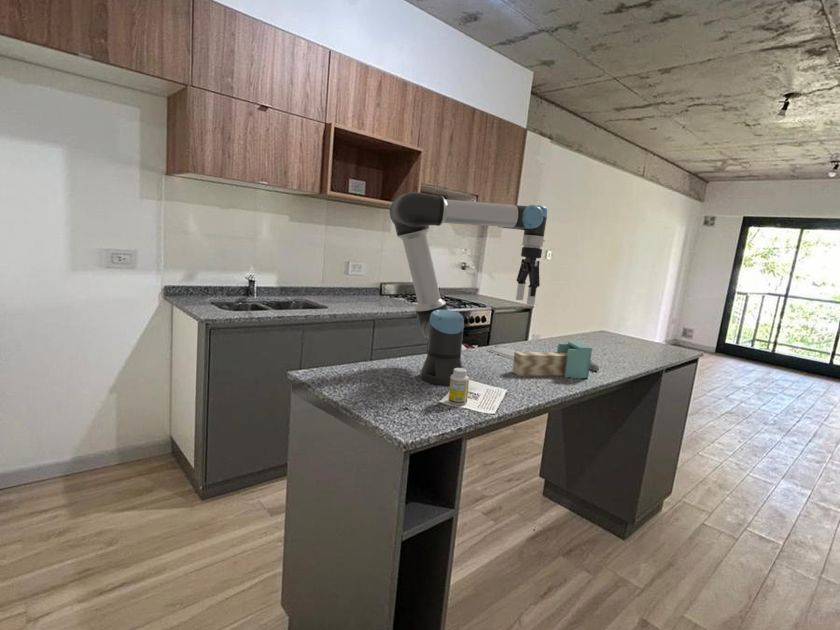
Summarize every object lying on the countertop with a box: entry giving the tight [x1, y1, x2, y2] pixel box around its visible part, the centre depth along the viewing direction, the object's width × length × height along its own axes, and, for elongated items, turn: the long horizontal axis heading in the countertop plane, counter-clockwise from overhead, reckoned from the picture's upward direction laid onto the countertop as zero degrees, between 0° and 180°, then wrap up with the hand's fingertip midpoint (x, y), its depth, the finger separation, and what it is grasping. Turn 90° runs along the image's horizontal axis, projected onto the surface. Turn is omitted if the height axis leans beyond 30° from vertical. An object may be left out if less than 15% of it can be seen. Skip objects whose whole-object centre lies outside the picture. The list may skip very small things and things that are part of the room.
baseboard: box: [486, 345, 518, 360], centre depth 195 cm, size 31×3×12 cm
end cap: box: [556, 341, 593, 379], centre depth 175 cm, size 9×10×12 cm
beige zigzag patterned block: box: [512, 351, 567, 376], centre depth 174 cm, size 24×5×8 cm, turn 104°
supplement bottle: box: [448, 368, 470, 406], centre depth 135 cm, size 6×6×10 cm
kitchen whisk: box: [589, 360, 600, 373], centre depth 198 cm, size 6×34×6 cm, turn 5°
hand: (524, 302), depth 175 cm, fingers open, 13 cm apart
